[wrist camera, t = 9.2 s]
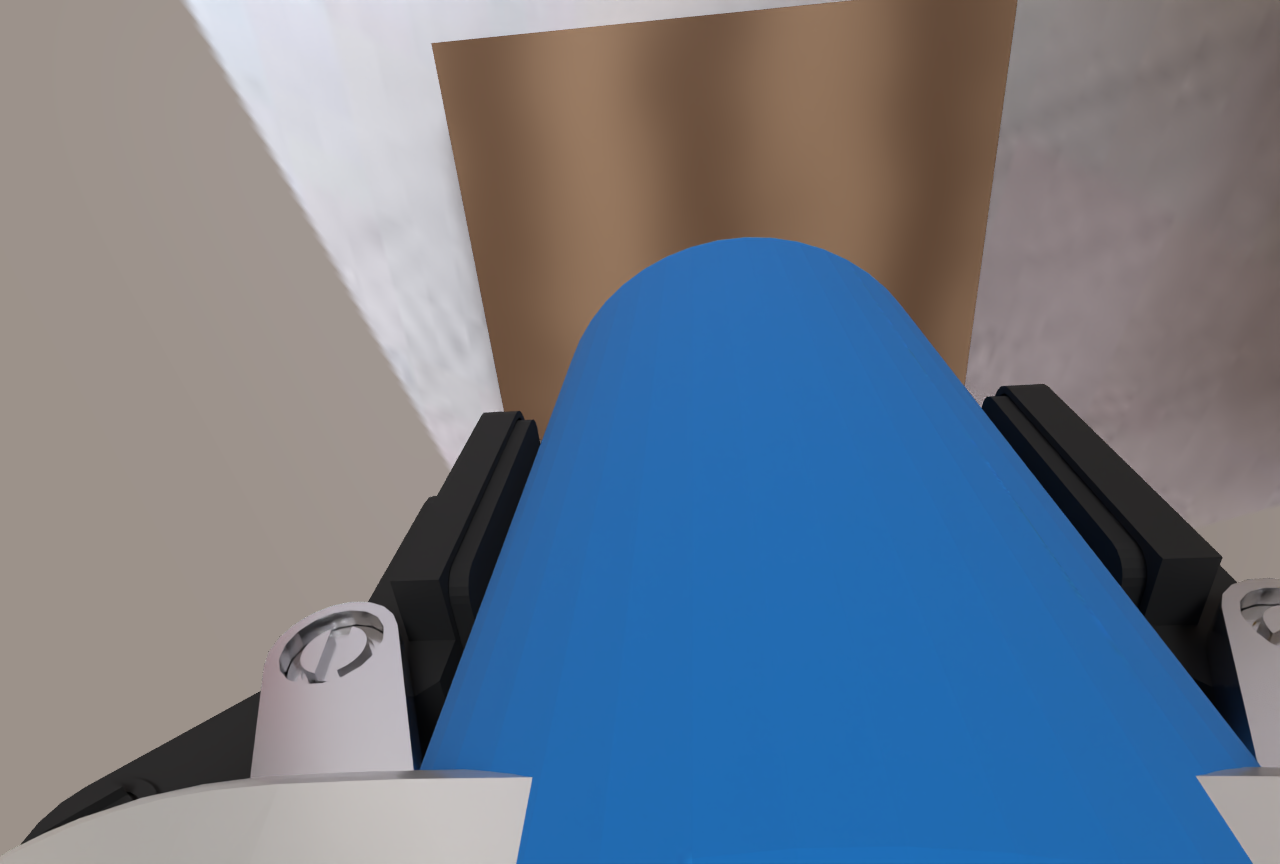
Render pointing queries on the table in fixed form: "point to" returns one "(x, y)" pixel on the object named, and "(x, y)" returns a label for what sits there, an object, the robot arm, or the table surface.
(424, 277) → the table surface
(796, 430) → the beverage can
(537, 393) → the walnut board
